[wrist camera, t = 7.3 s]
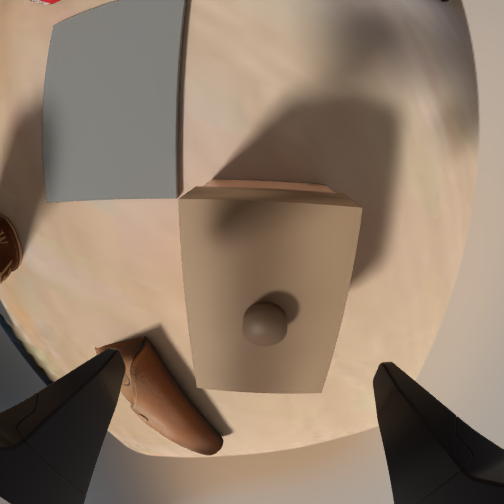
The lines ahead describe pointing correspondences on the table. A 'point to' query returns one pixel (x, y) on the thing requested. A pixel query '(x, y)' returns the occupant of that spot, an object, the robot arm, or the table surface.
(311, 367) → the lid
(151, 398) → the sunglasses case
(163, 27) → the mat
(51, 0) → the soda can
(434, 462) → the robot arm
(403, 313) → the table surface
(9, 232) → the coffee cup
